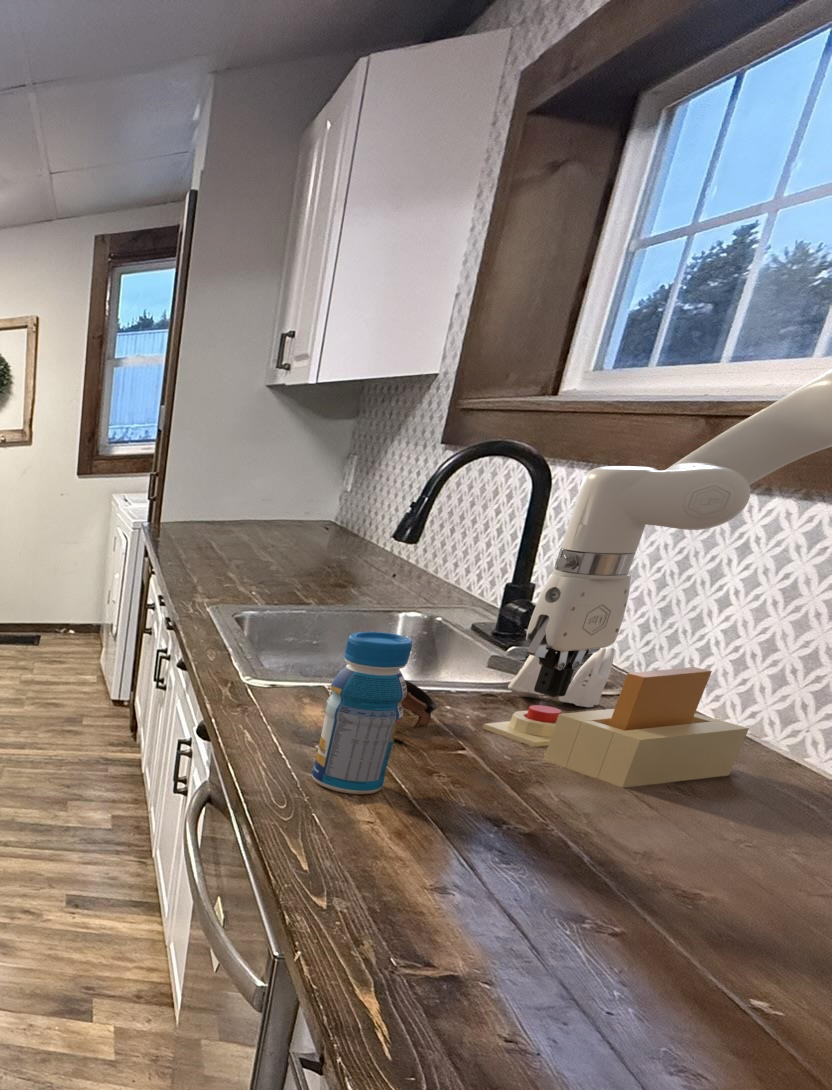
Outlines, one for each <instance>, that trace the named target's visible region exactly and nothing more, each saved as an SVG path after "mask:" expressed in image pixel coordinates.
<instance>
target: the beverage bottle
mask: <svg viewBox="0 0 832 1090" xmlns="http://www.w3.org/2000/svg"><path fill="white" fill-rule="evenodd" d="M412 647H413V640H412V639H411V638H409V637H407V636H404V635H401V634H396V633H390V632H381V631H359V632H353V633H351V634H350V635H349V637H348V638H347V642H346V646H345V649H344V650H345V651H344V655H343V656H344V661H345V662H346V663H347V665H345V666H343V668H342V669H341V670H340V671H339V672H338V673H337V674H336V675H335V677H334V678H333V680H332V682H331V684H330V691H331V695H330V696H329V697H328V698H327V700H326V702H325V705H324V713H325V715H324V719H323V725H322V730H321V734H320V739H319V744H318V748H317V751H316V752H317V753H316V757H315V761H314V763H313V767H312V770H311V779H312V781H314V782H315V783H316V784H317V785H319V786H321V787H323V788H325V789H328V790H331V791H334V792H338V793H344V794H351V795H370V794H374V793H377V792H379V791H381V790H382V788H383V786H384V783H385V779H386V771H387V767H388V764H389V760H390V756H391V753H392V749H393V745H394V741H395V737H396V735H397V731H398V726H399V724H400V723H401V721H402V719H403V715H404V707H403V706H402V705H401V702H402V700H403V699H405V697H406V696H407V686H406V682H405V680H406V679H405V677H404V675H403V673H402V670H400V669H404V668H405V667H406V666H407V664H408V663H409V659H410V655H411V651H412Z"/></svg>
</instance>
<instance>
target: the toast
mask: <svg viewBox="0 0 832 1090" xmlns="http://www.w3.org/2000/svg"><path fill="white" fill-rule="evenodd" d="M712 673H713V671H712V670H709V669H705V668H701V667H696V666H690V667H678V668H670V669H669V668H668V669H667V668H666V669H659V670H658V669H657V670H647V671H638V672H637V671H636V672H627V674H626V676H625V678H624V682H623V685H622V688H621V691H620V692H619V696H618V698H617V701H616V704H615V707H614V708H613V709H614V712H613V715H612V717H611V720H610V723H609V726H611V727H614V728H617V729H621V730H624V731H627V730H636V729H646V728H655V727H665V726H674V725H684V724H691V722H692V719H693V717H694V714H696V712H697V710H698V707H699V705H700V702H701V699H702V697H703V695H704V692H705V689H706V688H707V684H708V682H709V679H710V678H711V675H712Z"/></svg>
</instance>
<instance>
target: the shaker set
mask: <svg viewBox="0 0 832 1090" xmlns="http://www.w3.org/2000/svg"><path fill="white" fill-rule="evenodd" d="M615 651H616V649H615V648H614V647H612V646H608V647H604V648H600V650H599V651H597V652H594V653H592V655H590V657H588V658H587V659H586V661H585V662H584V663H583V664H582V665H580V666H579V668H578V669H577V671H576V673H575V674H574V676H573V678H572V679H571V681H570V683H569V686H568V689H567V692H566V694H565V696H558V697H557V699H556V700H557V701H559V702H562V703H569V704H574V705H575V706H578V707H585V708H592V707H593V708H594V706H599V704H600V702H601V701H600V700H601V698H602V695H603V692H604V689H605V686H606V684H607V682H608V680H609V678H610V675H611V672H612V668H613V663H614V658H615V653H616V652H615ZM556 653H557V652H556ZM541 666H542V665H540V664H539V658H538V657H536V656H532V655H529V656H528V657H527V658H526V660H525V662H524V664H523V666H522V667H521V669H520V670H518V672H517V674H516V675H515V676H514V678H513V679H512V680H511V681H510V682H509V683H508V686H507V689H509V690H510V692H511V693H512V694H514V695H516V696H519V697H524V698H539V697H540V696H541V695H542V694H541V693H538V692H535V691H534V688H535V685H536V682H537V679H538V675H539V672H540V669H541Z"/></svg>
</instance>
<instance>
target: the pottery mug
mask: <svg viewBox="0 0 832 1090" xmlns="http://www.w3.org/2000/svg"><path fill="white" fill-rule="evenodd" d="M405 682H406V686H407V696H406V697H405V699H403V700H402V702H401V705H402V707H403V709H406V710H408V711H410V712H411V713H412V714H414V715H415V716H417V717H418V719H417V722H416V723H415V724H414V725H413V728H415V727H425V726H428V725H429V724H430V722H431V718H432V713H433V712H434V711H435V710H437V709H438V706H437V704H436V703H435V701H434V700H433V698H432V697H431V696H429V694H428V693H427V692H426V691H424V690H423V689H421V688H420V687H419V686H417V685H416V684H414V683H413V682H411V681H408V680H407V679H405Z"/></svg>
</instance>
